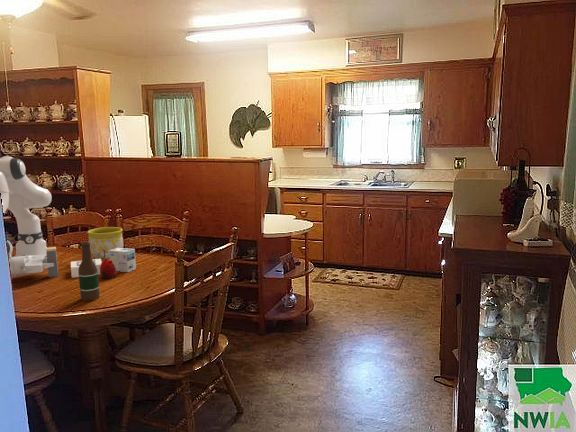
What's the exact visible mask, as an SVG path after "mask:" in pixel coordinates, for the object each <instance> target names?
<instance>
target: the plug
mask: <svg viewBox="0 0 576 432" xmlns="http://www.w3.org/2000/svg"><path fill="white" fill-rule="evenodd" d="M46 253H47V256H46V258H47V262H46V264H47V263H52V262H53V263H54V266H53V267H49V268H47V271H48V279H49V278H57V277H58V278H59V265H58V258H57V247H56V246H50V247H47V248H46Z"/></svg>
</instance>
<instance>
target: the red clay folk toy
mask: <svg viewBox="0 0 576 432" xmlns="http://www.w3.org/2000/svg"><path fill="white" fill-rule="evenodd" d="M103 250H104V249H103ZM103 252H104V257H105V256H106V255H105V252H106V253H108V252H107V251H105V250H104V251H103ZM99 276H100V277H101V278H102V279H105V280H106V279H107V280H108V279H113V278H116V277H117V271H116V268H115V265H114V264H113V261H112V260H107V259H106V257H105V259H104V260H103V262H102V263H101V267H100V274H99Z"/></svg>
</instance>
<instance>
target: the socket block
mask: <svg viewBox="0 0 576 432" xmlns="http://www.w3.org/2000/svg"><path fill="white" fill-rule="evenodd" d="M92 261H93V262H94V263H95V265H96V267H97V271H98V276H100V267H101V263H102V262H101V259H92ZM81 262H82V260H75V261H70V274H71V278H73V279H75V278H79V272H78V269H79V266H80V264H81Z"/></svg>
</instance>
